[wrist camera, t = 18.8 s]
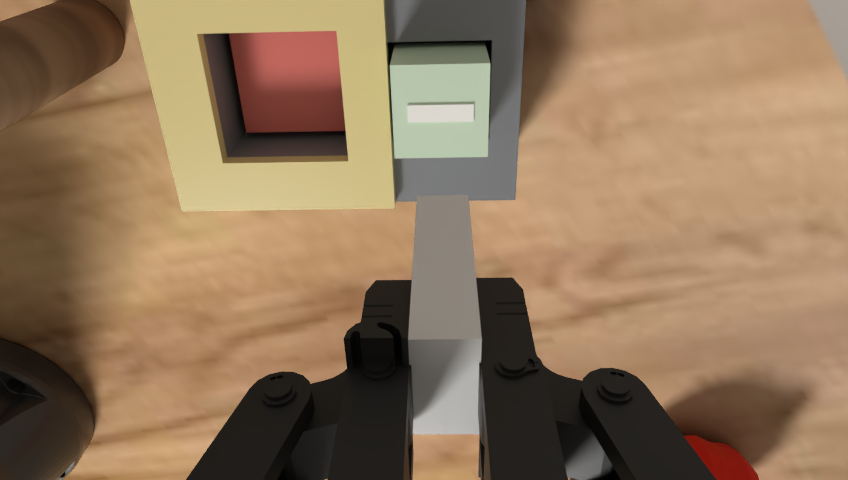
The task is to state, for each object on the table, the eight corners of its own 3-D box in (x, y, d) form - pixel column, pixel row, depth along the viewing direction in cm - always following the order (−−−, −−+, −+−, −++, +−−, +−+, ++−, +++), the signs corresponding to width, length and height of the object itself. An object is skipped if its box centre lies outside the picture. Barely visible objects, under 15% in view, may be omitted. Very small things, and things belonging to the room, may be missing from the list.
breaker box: (219, 161, 40) (181, 211, 34) (177, -47, 34) (122, -29, 28) (504, 156, 39) (516, 206, 33) (514, -55, 33) (530, -39, 27)
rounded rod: (65, 69, 37) (-157, 187, 23) (42, -4, 35) (-215, 80, 21) (132, 67, 37) (-51, 186, 23) (113, -5, 35) (-100, 77, 21)
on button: (398, 128, 33) (394, 159, 30) (394, 43, 31) (389, 65, 28) (482, 127, 33) (488, 157, 30) (484, 41, 31) (490, 64, 27)
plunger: (256, 118, 37) (246, 132, 35) (240, 19, 34) (227, 28, 32) (351, 116, 37) (346, 130, 35) (342, 17, 34) (337, 26, 32)
